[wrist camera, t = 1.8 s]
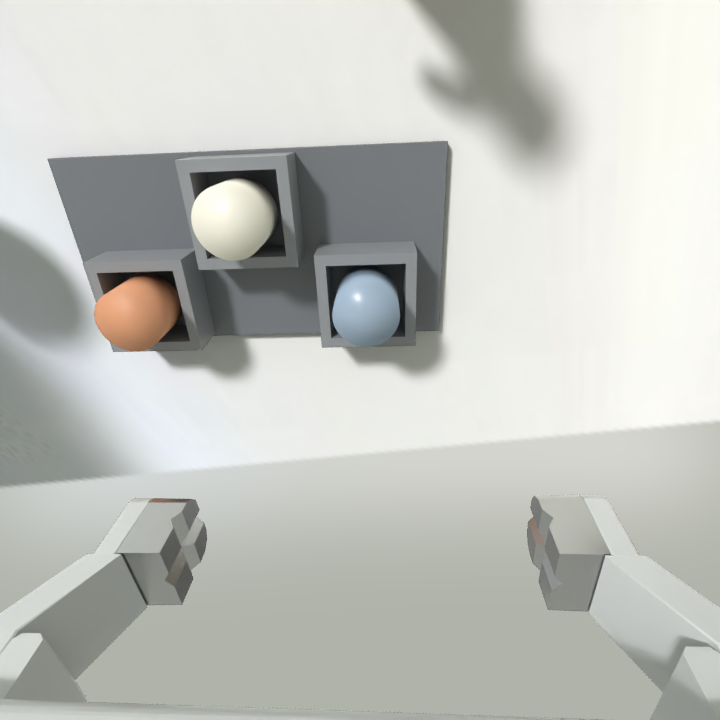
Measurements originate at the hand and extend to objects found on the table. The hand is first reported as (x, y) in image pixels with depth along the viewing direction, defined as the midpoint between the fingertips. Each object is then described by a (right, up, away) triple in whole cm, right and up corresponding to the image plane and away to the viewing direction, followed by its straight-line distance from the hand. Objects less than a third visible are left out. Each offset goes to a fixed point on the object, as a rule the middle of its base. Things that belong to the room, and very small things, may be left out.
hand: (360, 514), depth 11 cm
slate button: (0, +7, +15) cm, 17 cm away
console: (-6, +11, +16) cm, 20 cm away
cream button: (-6, +12, +13) cm, 19 cm away
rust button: (-13, +7, +16) cm, 22 cm away
